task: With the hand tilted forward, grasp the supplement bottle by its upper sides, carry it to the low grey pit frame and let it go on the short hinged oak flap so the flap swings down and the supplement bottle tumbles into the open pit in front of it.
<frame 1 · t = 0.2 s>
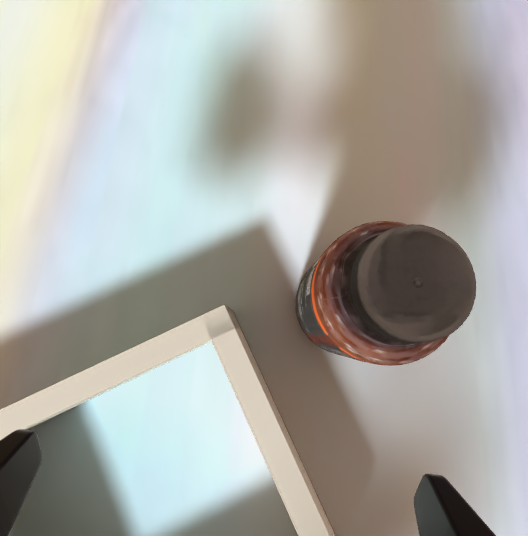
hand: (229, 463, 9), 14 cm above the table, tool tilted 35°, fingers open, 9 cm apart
supplement bottle: (340, 305, 24), on the table
pit frame: (82, 529, 21), on the table
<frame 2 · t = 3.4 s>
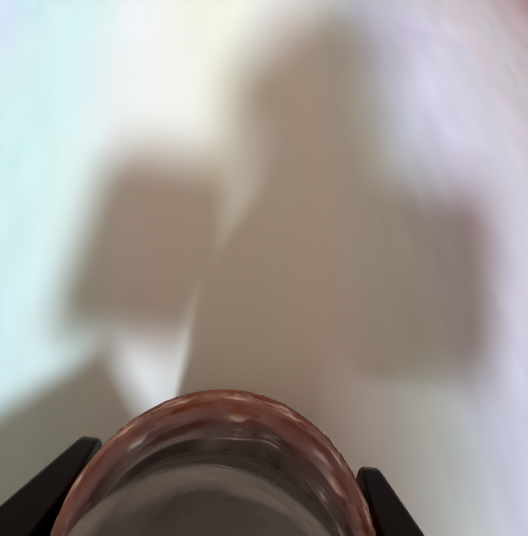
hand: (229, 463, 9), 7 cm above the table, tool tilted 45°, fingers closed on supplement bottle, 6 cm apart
supplement bottle: (233, 472, 15), on the table, touching gripper
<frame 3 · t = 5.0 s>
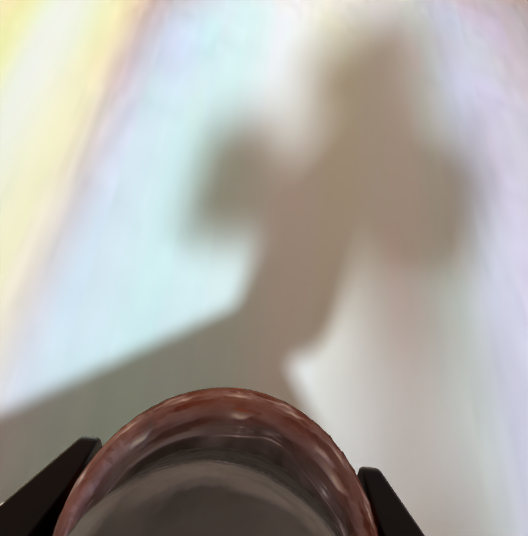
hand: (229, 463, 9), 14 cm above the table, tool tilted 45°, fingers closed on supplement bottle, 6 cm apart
supplement bottle: (235, 471, 15), point 7 cm above the table, touching gripper
when the fingers open (13 cm above the table, at t = 6.8 s): supplement bottle drops 1 cm, resting on trapdoor.
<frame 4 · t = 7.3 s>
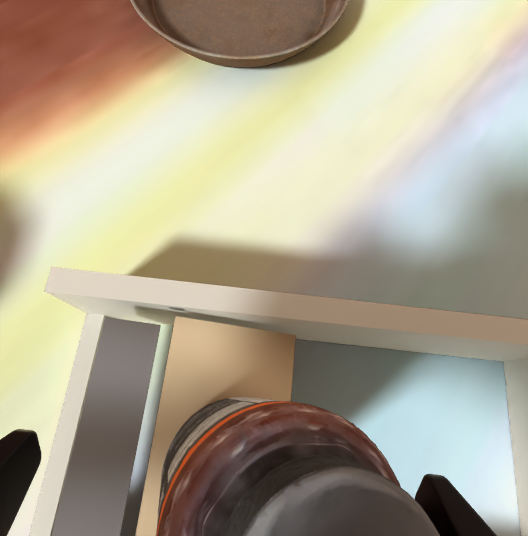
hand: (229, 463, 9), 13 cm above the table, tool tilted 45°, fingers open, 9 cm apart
trapdoor: (182, 455, 17), point 4 cm above the table, hinge at -15.5°, touching supplement bottle
supplement bottle: (232, 467, 16), point 5 cm above the table, touching gripper, trapdoor
pit frame: (308, 457, 21), on the table
plant saucer: (240, 7, 32), on the table
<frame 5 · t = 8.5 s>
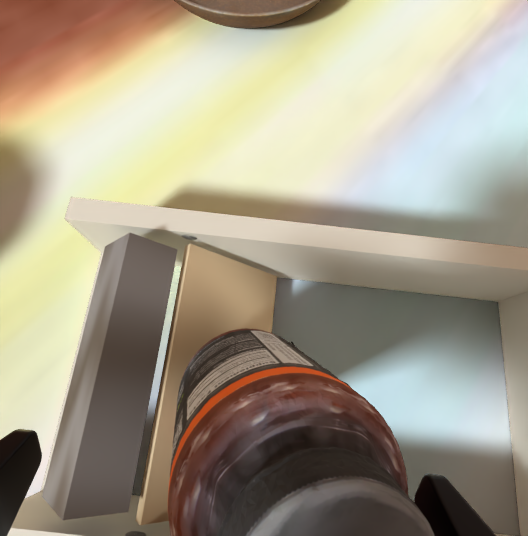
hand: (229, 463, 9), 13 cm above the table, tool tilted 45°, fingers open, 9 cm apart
trapdoor: (180, 371, 19), point 3 cm above the table, hinge at -40.3°, touching supplement bottle
supplement bottle: (243, 387, 17), point 4 cm above the table, touching gripper, trapdoor
pit frame: (312, 387, 22), on the table
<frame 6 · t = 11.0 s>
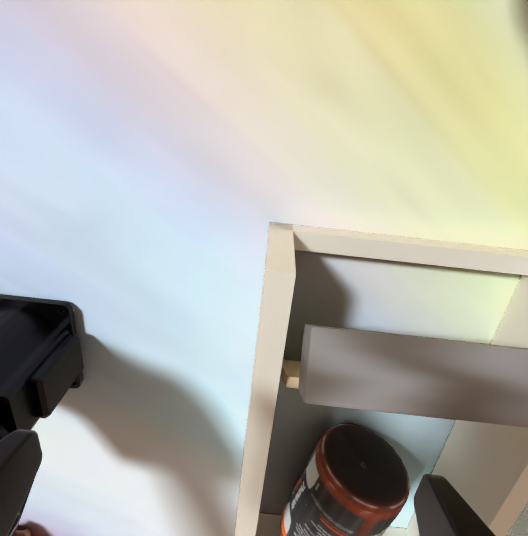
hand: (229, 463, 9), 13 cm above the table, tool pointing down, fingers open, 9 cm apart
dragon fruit: (20, 535, 34), on the table
trapdoor: (402, 363, 19), point 3 cm above the table, hinge at -57.9°
supplement bottle: (368, 456, 23), point 3 cm above the table, touching pit frame
pit frame: (358, 420, 26), on the table
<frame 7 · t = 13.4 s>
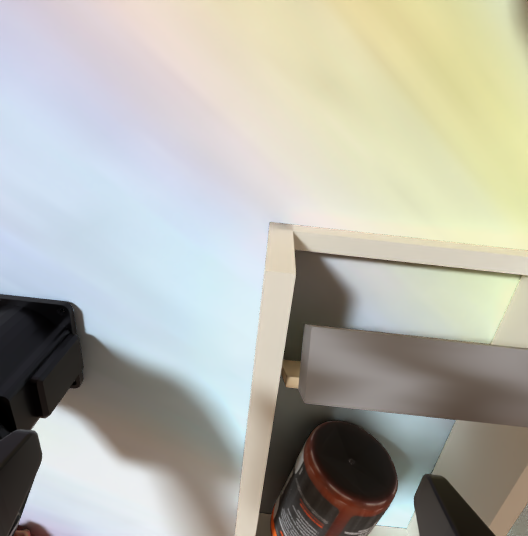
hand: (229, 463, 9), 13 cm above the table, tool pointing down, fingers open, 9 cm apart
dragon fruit: (20, 535, 34), on the table
trapdoor: (402, 363, 19), point 3 cm above the table, hinge at -57.9°
supplement bottle: (356, 453, 23), point 3 cm above the table
pit frame: (358, 420, 26), on the table
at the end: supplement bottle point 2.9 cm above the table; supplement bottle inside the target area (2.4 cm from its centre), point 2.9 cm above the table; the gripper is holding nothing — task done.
